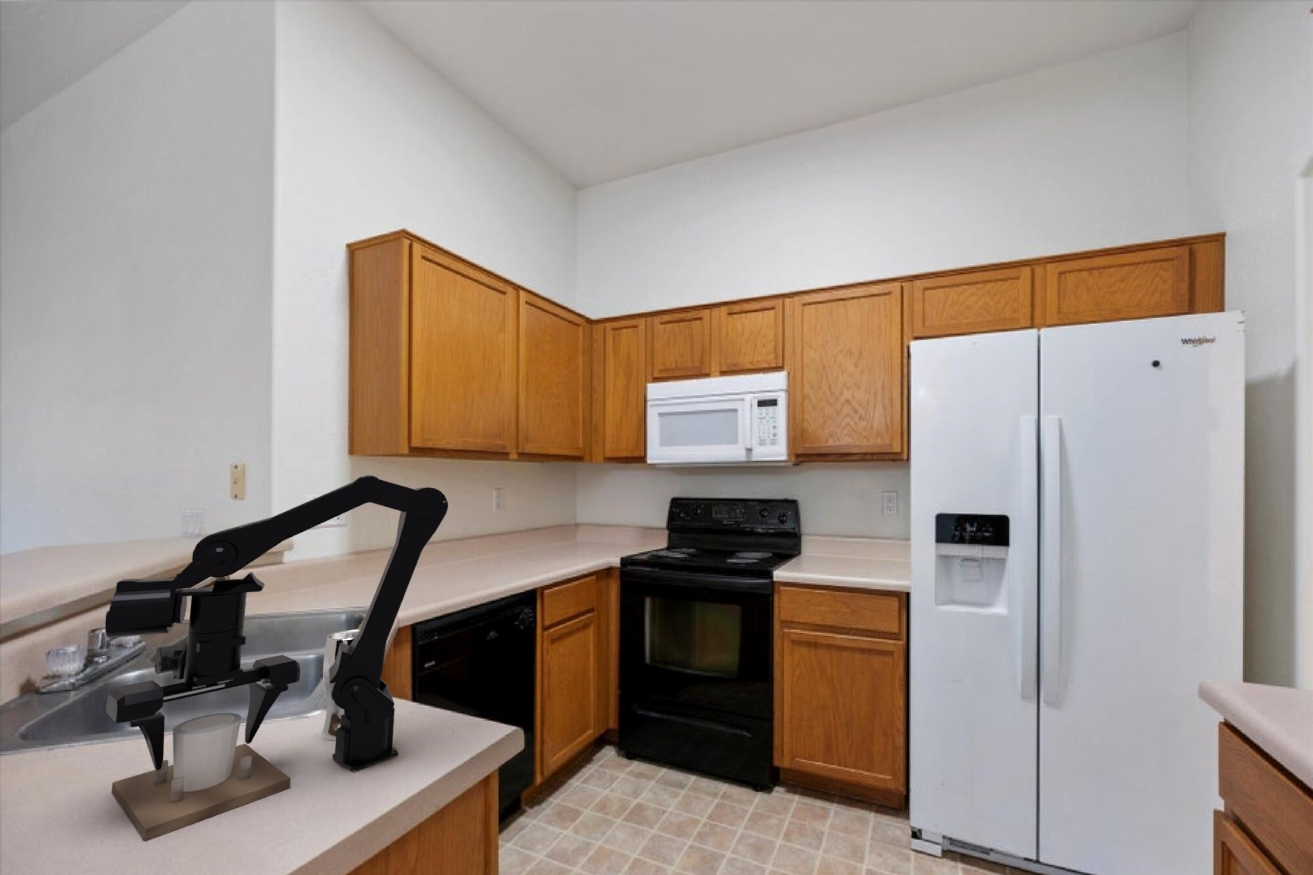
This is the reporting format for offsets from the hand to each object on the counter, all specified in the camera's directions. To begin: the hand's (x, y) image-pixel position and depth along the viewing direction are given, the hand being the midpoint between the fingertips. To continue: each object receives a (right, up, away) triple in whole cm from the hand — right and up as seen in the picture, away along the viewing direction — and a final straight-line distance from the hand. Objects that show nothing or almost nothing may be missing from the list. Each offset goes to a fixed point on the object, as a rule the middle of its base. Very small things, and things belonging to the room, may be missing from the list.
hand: (205, 755), depth 71 cm
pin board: (0, -4, 0) cm, 4 cm away
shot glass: (0, -3, 0) cm, 3 cm away
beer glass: (+8, -6, +17) cm, 20 cm away
